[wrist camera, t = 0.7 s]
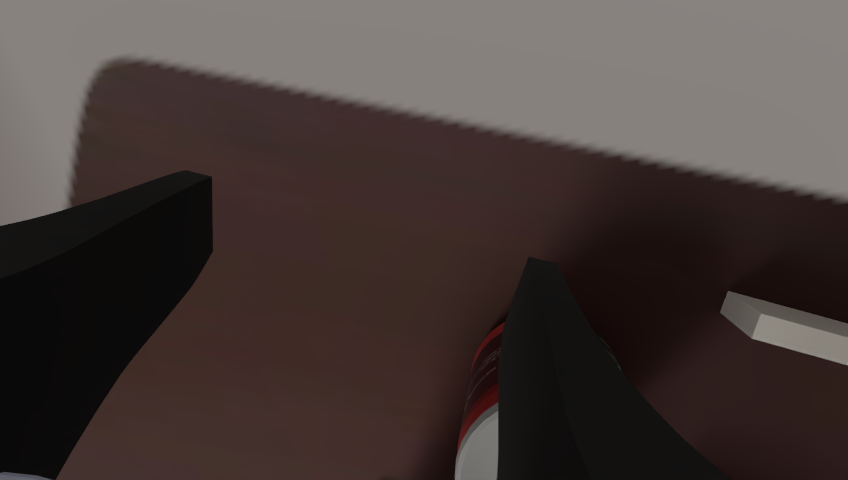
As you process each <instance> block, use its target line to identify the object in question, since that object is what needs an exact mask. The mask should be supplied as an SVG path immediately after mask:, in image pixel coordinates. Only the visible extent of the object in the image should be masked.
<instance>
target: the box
mask: <svg viewBox="0 0 848 480" xmlns="http://www.w3.org/2000/svg"><path fill="white" fill-rule="evenodd" d="M720 313H721V314H722V315H724V316H725V317H726V318H727V319H728V320H730V321H731V322H732V323H733V324H734V325H736V326H737V327H738V328H739V329H741V330H742V331H743V332H744V333H745V334H747V335H748V336H749V337H750V338H752V339H755V340H759V341H762V342H766V343H770V344H773V345H777V346H780V347H784V348H788V349H791V350H795V351H798V352H802V353H805V354H809V355H813V356H816V357H820V358H823V359H827V360H830V361H834V362H838V363H841V364H845V365H848V323H844V322H841V321H837V320H833V319H830V318H826V317H822V316H819V315H815V314H811V313H808V312H804V311H800V310H797V309H793V308H789V307H786V306H782V305H778V304H775V303H771V302H767V301H764V300H760V299H756V298H753V297H749V296H745V295H742V294H738V293H734V292H731V291H728V292H727V295H726V297H725V300H724V303H723V305H722V308H721V311H720Z"/></svg>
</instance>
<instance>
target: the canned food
mask: <svg viewBox="0 0 848 480" xmlns="http://www.w3.org/2000/svg"><path fill="white" fill-rule="evenodd" d="M504 323H505V322H504ZM504 323H502V324H501V325H499V326H498V327H497V328H495V329H494V330H492V331H491V332H490V333H489V334H488V336H487V337H486V338H485V339H484V340H483V341H482V343H481V345H480V346H479V348H478V350H477V352H476V354H475V357H474V360H473V364H472V368H471V374H470V379H469V385H468V390H467V396H466V402H465V407H464V413H463V419H462V424H461V430H460V435H459V441H458V450H457V456H456V466H455V480H497V468H498V364H499V356H500V348H501V341H502V334H503V326H504ZM594 332H595V331H594ZM595 334H596V335H597V337H598V338H599V340H600V341H601V343H602V344H603V346H604V347H605V349H606V350H607V352H608V353H609V354H610V356H611V357H612V359H613V360H614V362H615V363H616V364H617V366H618V367H619V368H620V369H621V367H620V365H619V363H618V361H617V359H616V357H615V356H614V354H613V352H612V350H611V349H610V347H609V346H608V344H607V343H606V342H605V341H604V340H603V339H602V338H601V336H600V335H598V334H597V333H596V332H595ZM621 371H622V369H621ZM622 372H623V371H622Z"/></svg>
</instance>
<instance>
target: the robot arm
mask: <svg viewBox="0 0 848 480" xmlns="http://www.w3.org/2000/svg"><path fill="white" fill-rule="evenodd" d="M212 252H213V229H212V177H211V176H207V175H203V174H199V173H195V172H191V171H187V170H185V171H181V172H177V173H173V174H170V175H167V176H164V177H161V178H158V179H155V180H152V181H149V182H147V183H144V184H141V185H138V186H135V187H132V188H130V189H127V190H124V191H121V192H118V193H115V194H112V195H109V196H107V197H104V198H101V199H98V200H94V201H91V202H88V203H85V204H82V205H78V206H75V207H72V208H69V209H65V210H62V211H59V212H56V213H52V214H49V215H45V216H41V217H37V218H33V219H30V220H25V221H21V222H17V223H12V224H8V225H3V226H0V480H56V478H57V476H58V474H59V473H60V471H61V469H62V467H63V466H64V464H65V462H66V460H67V459H68V457H69V455H70V453H71V452H72V450H73V448H74V447H75V445H76V443H77V442H78V440H79V439H80V437H81V435H82V434H83V432H84V431H85V429H86V427H87V426H88V424H89V422H90V421H91V419H92V418H93V416H94V414H95V413H96V411H97V409H98V408H99V406H100V405H101V403H102V402H103V400H104V399H105V397H106V396H107V394H108V393H109V391H110V390H111V388H112V387H113V385H114V384H115V382H116V381H117V379H118V377H119V376H120V374H121V373H122V372H123V370H124V369H125V368H126V366H127V365H128V364H129V362H130V361H131V360H132V359H133V357H134V356H135V355H136V354H137V352H138V351H139V350H140V349H141V348H142V346H143V345H144V344H145V343H146V342H147V340H148V339H149V338H150V337H151V336H152V334H153V333H154V332H155V331H156V330H157V328H158V327H159V326H160V325H161V324H162V322H163V321H164V320H165V319H166V317H167V316H168V315H169V314H170V313H171V311H172V310H173V309H174V308H175V307H176V305H177V304H178V303H179V302H180V300H181V299H182V298H183V297H184V295H185V294H186V293H187V292H188V290H189V289H190V288H191V287H192V285H193V284H194V282H195V280H196V279H197V277H198V276H199V274H200V272H201V271H202V269H203V267H204V266H205V264H206V262H207V260H208V259H209V257H210V255H211V254H212ZM497 480H730V479H729V478H727V477H726V476H725V475H724V474H723V473H721V472H720V471H719V470H718V469H717V468H716V467H714V466H713V465H712V464H711V463H710V462H709V461H708V460H706V459H705V458H704V457H703V456H702V455H701V454H700V453H698V452H697V451H696V450H695V449H694V448H693V447H692V446H691V445H690V444H689V443H687V442H686V441H685V440H684V439H683V438H682V437H681V436H680V435H679V434H678V433H677V432H676V431H675V430H674V429H673V428H672V427H671V426H670V425H669V424H668V423H667V422H666V421H665V420H664V419H663V418H662V417H661V416H660V415H659V414H658V413H657V412H656V411H655V410H654V409H653V407H652V406H651V405H650V404H649V403H648V402H647V401H646V400H645V399H644V397H643V396H642V395H641V394H640V393H639V392H638V390H637V389H636V388H635V387H634V385H633V384H632V383H631V382H630V381H629V379H628V378H627V377H626V376H625V375H624V373H623V372H622V371H621V369H620V368H619V367H618V366H617V364H616V363H615V362H614V360H613V359H612V357H611V356H610V354H609V353H608V352H607V350H606V349H605V347H604V346H603V344H602V343H601V341H600V340H599V338H598V337H597V335H596V334H595V332H594V331H593V329H592V327H591V326H590V324H589V322H588V321H587V319H586V317H585V316H584V314H583V312H582V311H581V309H580V307H579V305H578V303H577V302H576V300H575V298H574V296H573V294H572V292H571V291H570V289H569V287H568V285H567V283H566V281H565V279H564V277H563V275H562V274H561V272H560V270H559V268H558V266H557V264H555V263H551V262H547V261H543V260H539V259H535V258H531V257H529V258H528V260H527V263H526V266H525V269H524V271H523V274H522V277H521V279H520V282H519V285H518V288H517V290H516V293H515V296H514V299H513V301H512V304H511V307H510V310H509V312H508V315H507V318H506V321H505V323H504V326H503V334H502V341H501V348H500V356H499V364H498V468H497Z"/></svg>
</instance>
